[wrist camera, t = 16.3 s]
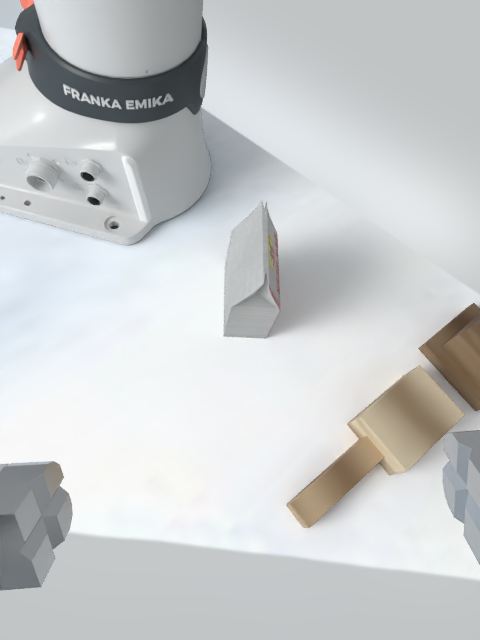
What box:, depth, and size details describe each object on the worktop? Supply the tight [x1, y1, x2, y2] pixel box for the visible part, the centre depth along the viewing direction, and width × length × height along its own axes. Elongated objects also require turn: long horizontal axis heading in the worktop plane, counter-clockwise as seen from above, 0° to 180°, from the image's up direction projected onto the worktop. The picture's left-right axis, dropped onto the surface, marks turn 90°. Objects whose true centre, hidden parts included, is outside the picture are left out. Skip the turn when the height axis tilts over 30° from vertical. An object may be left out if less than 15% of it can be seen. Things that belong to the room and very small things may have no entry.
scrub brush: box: [287, 365, 465, 528], centre depth 35 cm, size 15×5×3 cm, turn 128°
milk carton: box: [224, 201, 280, 338], centre depth 36 cm, size 4×7×10 cm, turn 0°
